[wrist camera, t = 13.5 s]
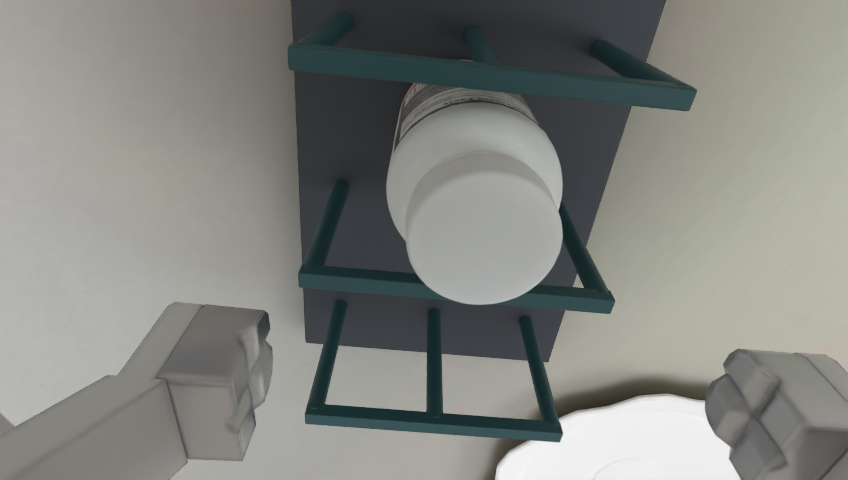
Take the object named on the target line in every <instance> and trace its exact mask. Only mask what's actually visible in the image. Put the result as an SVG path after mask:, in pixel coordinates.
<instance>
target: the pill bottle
mask: <svg viewBox="0 0 848 480" xmlns="http://www.w3.org/2000/svg"><path fill="white" fill-rule="evenodd" d="M464 61H473V60H464ZM562 189H563V182H562V172H561V166H560V162H559V159H558V156H557V153H556V151H555V148H554V146H553V144H552V143H551V141H550V139H549V137H548V135H547V134H546V132H545V131H544V129H543V128H542V127H541V125H540V123H539V121H538V120H537V118H536V117H535V115H534V114H533V112H532V111H531V109H530V108H529V106H528V105H527V103H526V101H525V100H524V98H523V96H522V95H521V94H515V93H506V92H496V91H486V90H477V89H467V88H458V87H448V86H438V85H429V84H419V83H413V85H412V86H411V87H410V89H409V90H408V92H407V94H406V95H405V97H404V100H403V102H402V105H401V108H400V112H399V118H398V122H397V127H396V132H395V138H394V143H393V150H392V155H391V160H390V165H389V169H388V175H387V183H386V194H387V203H388V207H389V211H390V214H391V217H392V220H393V222H394V224H395V226H396V228H397V230H398V231H399V233H400V235H401V236H402V237H403V239H404V240H405V241H406V247H407V252H408V256H409V260H410V263H411V265H412V267H413V269H414V271H415V272H416V274H417V275H418V277H419V278H420V279H421V280H422V281H423V282H424V283H425V284H426V285H427V286H428V287H429V288H430V289H432V290H433V291H434V292H436V293H438V294H439V295H441V296H443V297H445V298H448V299H450V300H453V301H457V302H461V303H465V304H473V305H484V304H495V303H500V302H504V301H508V300H510V299H514V298H516V297H519V296H521V295H523V294H524V293H526V292H528V291H529V290H531V289H532V288H533V287H535V286H536V285H537V284H538V283H539V282H541V281H542V280H543V279H544V278H545V276H546V275H547V274H548V273H549V272H550V270H551V269H552V267H553V266H554V264H555V262H556V260H557V257H558V255H559V253H560V249H561V244H562V239H563V230H562V222H561V218H560V215H559V212H558V210H559V207H560V203H561V198H562Z"/></svg>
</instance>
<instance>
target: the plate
mask: <svg viewBox="0 0 848 480" xmlns="http://www.w3.org/2000/svg"><path fill="white" fill-rule="evenodd" d="M558 419H559V422H560V424H561V427H562V431H563V436H562V438H561V441H560V442H545V441H532V440H528V441H526V442H524V443H523V444H521V445H519V446H517V447H515V448H513V449H511V450H510V451H508V453H507V454H506V455H505V456H504V457H503V458H502V460H501V461H500V462H499V463H498V464H497V469H496V476H495V480H741V479H740V477H739V475H738V474H737V472H736V470H735V468H734V467H733V465H732V463H731V462H730V460H729V453H730V446H728V445H727V444H726V443H725V442H723V441H722V440H721V439H720V438H718V437H717V436H716V435H715V434H714V432H713V430H712V428H711V426H710V425H709V423H708V420H707V416H706V413H705V400H695V399H690V398H686V397H681V396H677V395H673V394H654V395H640V396H637V397H634V398H631V399H628V400H625V401H621V402H618V403H615V404H612V405H609V406H604V407H598V408H591V409H584V410H577V411H574V412H572V413H569V414H567V415H565V416H562V417H560V418H558Z"/></svg>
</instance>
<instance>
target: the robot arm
mask: <svg viewBox="0 0 848 480" xmlns="http://www.w3.org/2000/svg"><path fill="white" fill-rule="evenodd" d="M269 330H270V324H269V316H268V313H267V312H266V311H264V310H255V309H245V308H236V307H226V306H217V305H207V304H206V305H201V304H192V303H182V302H174V303H172V304H171V305H169V306H167V307H166V309H165V310H164V311H163V313H162V314H161V316H160V317H159V318H158V320H157V321H156V323H155V324H154V325H153V327H152V328H151V329H150V331H149V332H148V334H147V335H146V336H145V338H144V339H143V341H142V342H141V343H140V345H139V346H138V347H137V349H136V350H135V352H134V353H133V354H132V356H131V357H130V359H129V360H128V361H127V363H126V364H125V366H124V367H123V368H122V370H121V371H120V372H119V374H118V375H117V376H111V375H107V376H105V377H103V378H101V379H99V380H98V381H96V382H94V383H92V384H91V385H89V386H87V387H85V388H83V389H82V390H80V391H78V392H76V393H74V394H73V395H71V396H69V397H67V398H66V399H64V400H62V401H60V402H58V403H57V404H55V405H53V406H51V407H50V408H48V409H46V410H44V411H42V412H41V413H39V414H37V415H35V416H34V417H32V418H30V419H28V420H26V421H25V422H23V423H21V424H19V425H18V426H16V427H14V428H12V429H10V430H9V431H7V432H5V433H3V434H2V435H0V480H169V479H170V478H171V477H173V476H174V475H175V474H176V473H177V472H178V471H179V470H180V469H181V468H182V467H183V466H184V465H185V464H186V463H187V462H188V461H187V459H199V460H224V461H243V459H244V456H245V453H246V451H247V448H248V445H249V442H250V440H251V437H252V434H253V432H254V429H255V426H256V421H255V413H254V410H255V409H256V408H257V407H258V406H260V405H261V404H262V403H263V402H264V401H265V398H266V395H267V392H268V389H269V385H270V380H271V375H272V366H273V354H272V347H271V346H270V345H269V344H268V343H267V342H266V341H265V340H266V337H267V335H268V332H269ZM723 366H724V369H725V372H726V374H725V375H723V376H721V377H720V378H718V379H716V380H715V381H713V382H712V383H711V385H710V387H709V389H708V391H707V393H706V395H705V413H706V416H707V420H708V423H709V425H710V426H711V428H712V430H713V432H714V434H715V435H716V436H717V437H718V438H720V439H721V440H722V441H723V442H725V443H726V444H727V445H728V446H730V453H729V460H730V462H731V463H732V465H733V467H734V468H735V470H736V472H737V474H738V475H739V477H740V479H741V480H848V372H847V371H846V370H845V369H844V368H843V367H842V366H841V365H840V364H839V363H838V362H837V361H835V360H834V359H832V358H830V357H828V356H826V355H823V354H807V353H787V352H773V351H760V350H746V349H737V350H735V351H734V352H732V353H731V354H729V356H728V357H727V359H726V360H725V362H724V364H723Z"/></svg>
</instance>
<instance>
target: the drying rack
mask: <svg viewBox="0 0 848 480" xmlns="http://www.w3.org/2000/svg"><path fill="white" fill-rule="evenodd" d="M665 2H666V0H291V4H292V28H293V44H291V45H290V46H288V66H289V69H290V70H294V76H295V100H296V124H297V148H298V172H299V196H300V220H301V244H302V266H301V268H300V270H299V273H298V280H299V287H300V288H303V292H304V316H305V340H306V343H316V344H324V345H323V349H322V352H321V356H320V360H319V363H318V367H317V371H316V375H315V378H314V382H313V386H312V389H311V393H310V397H309V401H308V404H307V408H306V412H305V423H306V424H315V425H328V426H342V427H355V428H369V429H383V430H396V431H410V432H423V433H437V434H450V435H464V436H478V437H491V438H505V439H518V440H532V441H545V442H560V441H561V438H562V436H563V431H562V427H561V424H560V422H559V419H558V415H557V411H556V408H555V404H554V400H553V396H552V393H551V389H550V385H549V382H548V378H547V374H546V371H545V367H544V363H543V362H548V361H549V358H550V355H551V352H552V349H553V346H554V342H555V339H556V336H557V333H558V330H559V327H560V324H561V321H562V318H563V315H564V312H565V310H570V311H582V312H593V313H605V314H610V313H611V311H612V308H613V306H614V303H615V299H614V297H613V295H612V294H611V292H610V291H609V290H608V289H607V287H606V285H605V283H604V281H603V279H602V277H601V275H600V274H599V272H598V270H597V268H596V266H595V264H594V262H593V260H592V258H591V256H590V254H589V252H588V250H587V248H586V244H587V241H588V238H589V235H590V232H591V229H592V226H593V223H594V220H595V217H596V213H597V210H598V207H599V204H600V201H601V198H602V195H603V192H604V189H605V186H606V183H607V180H608V177H609V174H610V171H611V167H612V164H613V161H614V158H615V155H616V152H617V149H618V146H619V143H620V140H621V137H622V134H623V131H624V128H625V124H626V121H627V118H628V115H629V112H630V109H631V106H641V107H650V108H660V109H670V110H679V111H689V110H690V108H691V105H692V103H693V100H694V98H695V95H696V93H697V89H695V88H693V87H691V86H689V85H688V84H685V83H683V82H681V81H679V80H678V79H676V78H674V77H672V76H670V75H668V74H666V73H665V72H663V71H661V70H659V69H657V68H655V67H653V66H652V65H650V64H648V63H646V60H647V57H648V54H649V51H650V48H651V45H652V42H653V38H654V35H655V32H656V29H657V26H658V23H659V20H660V17H661V14H662V11H663V8H664V5H665ZM464 60H473V61H464ZM413 83H419V84H429V85H438V86H448V87H458V88H467V89H477V90H486V91H496V92H506V93H515V94H521V95H522V96H523V98H524V100H525V101H526V103H527V105H528V106H529V108H530V109H531V111H532V112H533V114H534V115H535V117H536V118H537V120H538V121H539V123H540V125H541V127H542V128H543V129H544V131H545V132H546V134H547V135H548V137H549V139H550V141H551V143H552V144H553V146H554V148H555V151H556V153H557V156H558V159H559V162H560V166H561V172H562V182H563V189H562V198H561V203H560V207H559V210H558V212H559V215H560V218H561V222H562V230H563V239H562V244H561V249H560V253H559V255H558V257H557V260H556V262H555V264H554V266H553V267H552V269H551V270H550V272H549V273H548V274H547V275H546V276H545V278H544V279H543V280H542V281H541V282H539V283H538V284H537V285H536V286H535V287H533V288H532V289H531V290H529V291H528V292H526V293H524V294H523V295H521V296H519V297H516V298H514V299H510V300H508V301H504V302H500V303H495V304H484V305H473V304H465V303H461V302H457V301H453V300H450V299H448V298H445V297H443V296H441V295H439V294H438V293H436V292H434V291H433V290H432V289H430V288H429V287H428V286H427V285H426V284H425V283H424V282H423V281H422V280H421V279H420V278H419V277H418V275H417V274H416V272H415V271H414V269H413V267H412V265H411V263H410V260H409V256H408V252H407V247H406V241H405V240H404V239H403V237H402V236H401V235H400V233H399V231H398V230H397V228H396V226H395V224H394V222H393V220H392V217H391V214H390V211H389V207H388V203H387V194H386V183H387V175H388V169H389V165H390V160H391V155H392V150H393V143H394V138H395V132H396V127H397V122H398V118H399V112H400V108H401V105H402V102H403V100H404V97H405V95H406V94H407V92H408V90H409V89H410V87H411V86H412V85H413ZM577 273H578V275H579V277H580V279H581V282H582V284H583V286H584V288H576V287H573V284H574V281H575V278H576V275H577ZM338 345H341V346H353V347H365V348H378V349H390V350H403V351H415V352H427V408H426V412H419V411H406V410H392V409H379V408H366V407H353V406H339V405H326V404H325V401H326V397H327V393H328V388H329V384H330V380H331V376H332V371H333V367H334V363H335V358H336V354H337V350H338ZM441 354H452V355H465V356H477V357H490V358H502V359H514V360H527V361H528V363H529V367H530V372H531V376H532V380H533V384H534V389H535V393H536V397H537V401H538V406H539V410H540V414H541V418H542V421H538V420H525V419H512V418H498V417H485V416H472V415H459V414H445V413H443V395H442V357H441Z"/></svg>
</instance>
